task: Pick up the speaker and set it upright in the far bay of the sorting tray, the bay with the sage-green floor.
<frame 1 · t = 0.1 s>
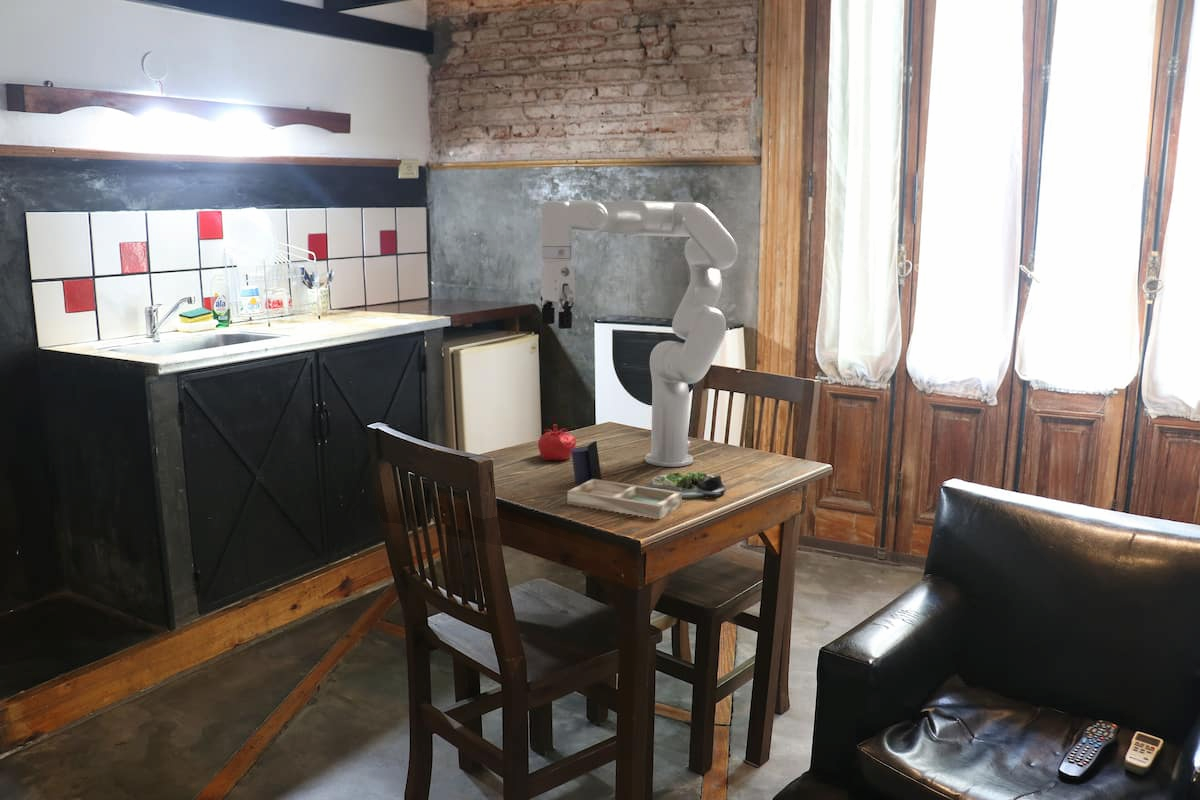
hand: (556, 326, 238), 37 cm above the table, tool pointing down, fingers open, 9 cm apart
avocado toast plate: (690, 491, 235), on the table
pomegranate: (556, 459, 262), on the table
speaker: (585, 484, 239), on the table
sorting tray: (624, 504, 222), on the table
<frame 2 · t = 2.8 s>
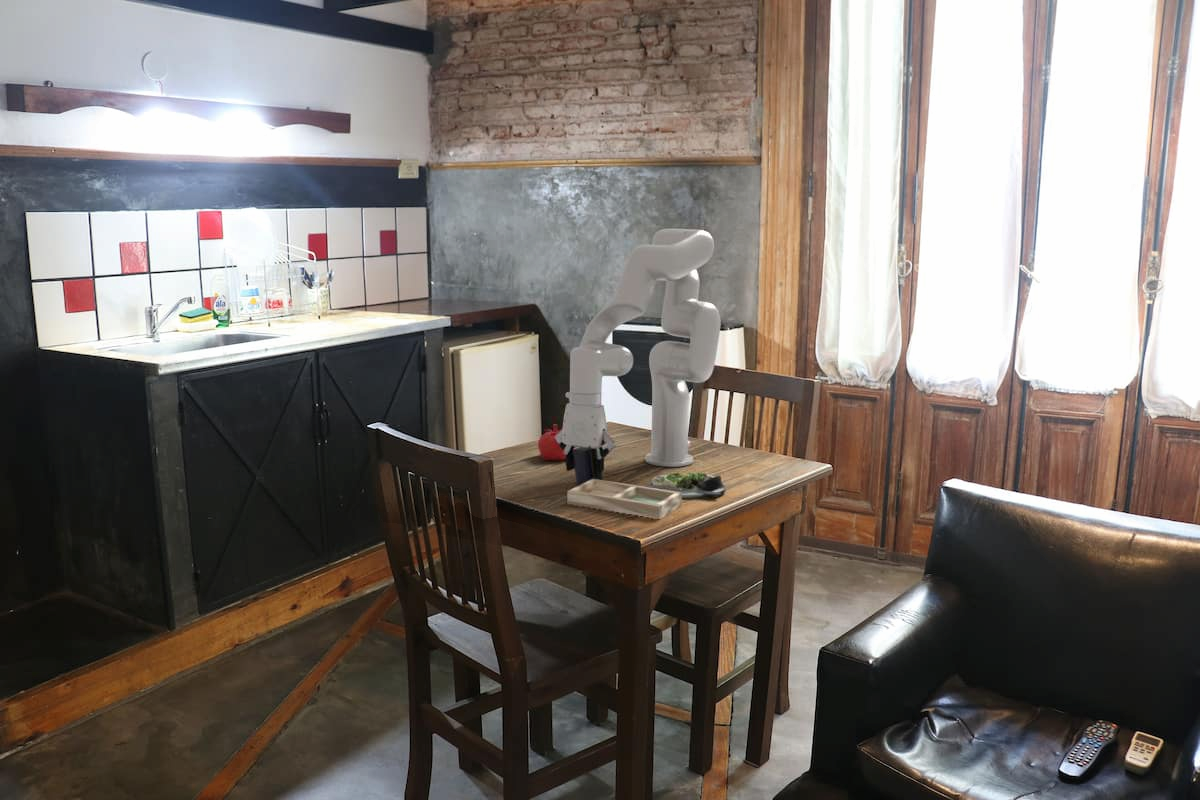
hand: (584, 471, 238), 3 cm above the table, tool pointing down, fingers open, 7 cm apart
speaker: (586, 484, 239), on the table, touching gripper
everything else where it was.
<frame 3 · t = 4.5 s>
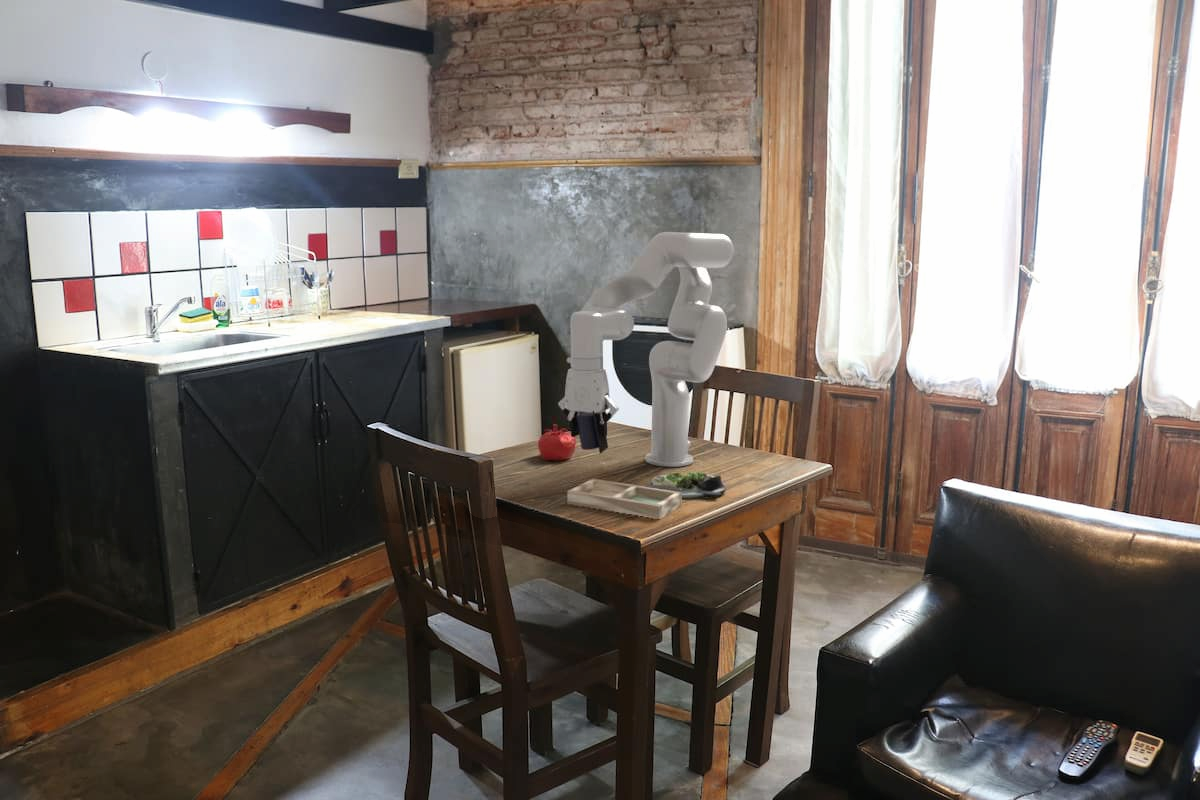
hand: (588, 436, 237), 11 cm above the table, tool pointing down, fingers closed on speaker, 6 cm apart
speaker: (591, 449, 238), point 8 cm above the table, touching gripper
everything else where it was.
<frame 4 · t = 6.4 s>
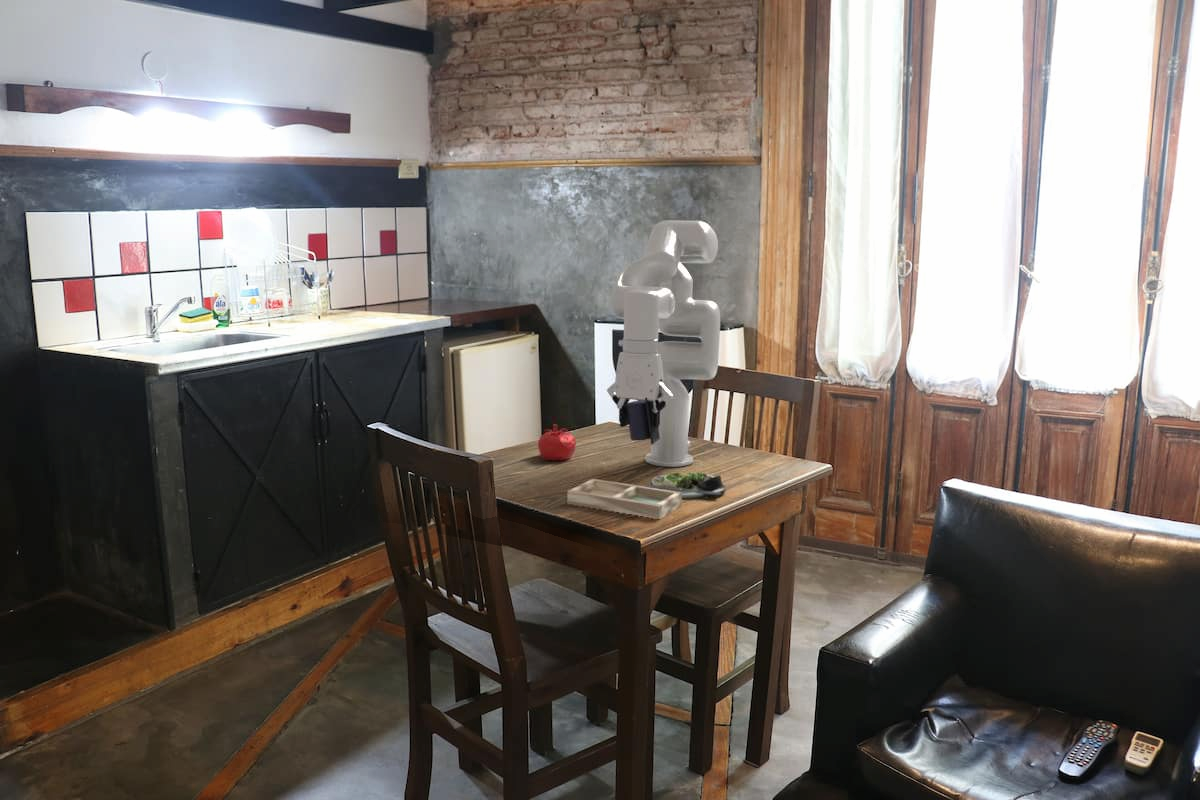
hand: (639, 427, 218), 18 cm above the table, tool pointing down, fingers closed on speaker, 6 cm apart
speaker: (641, 440, 219), point 15 cm above the table, touching gripper
everything else where it was.
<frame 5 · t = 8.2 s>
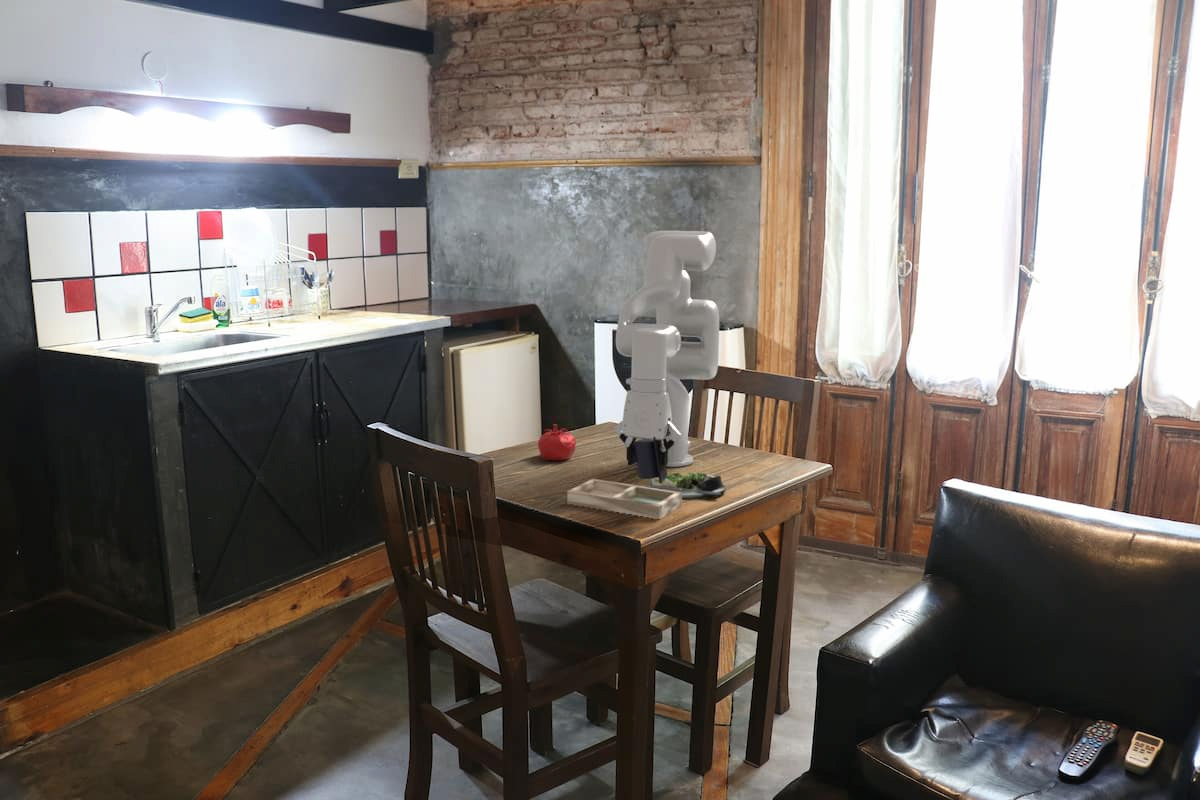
hand: (646, 465, 217), 10 cm above the table, tool pointing down, fingers closed on speaker, 6 cm apart
speaker: (649, 479, 218), point 7 cm above the table, touching gripper
everything else where it was.
when the fingers open (5 cm above the table, at t = 9.6 s): speaker drops 1 cm, resting on sorting tray.
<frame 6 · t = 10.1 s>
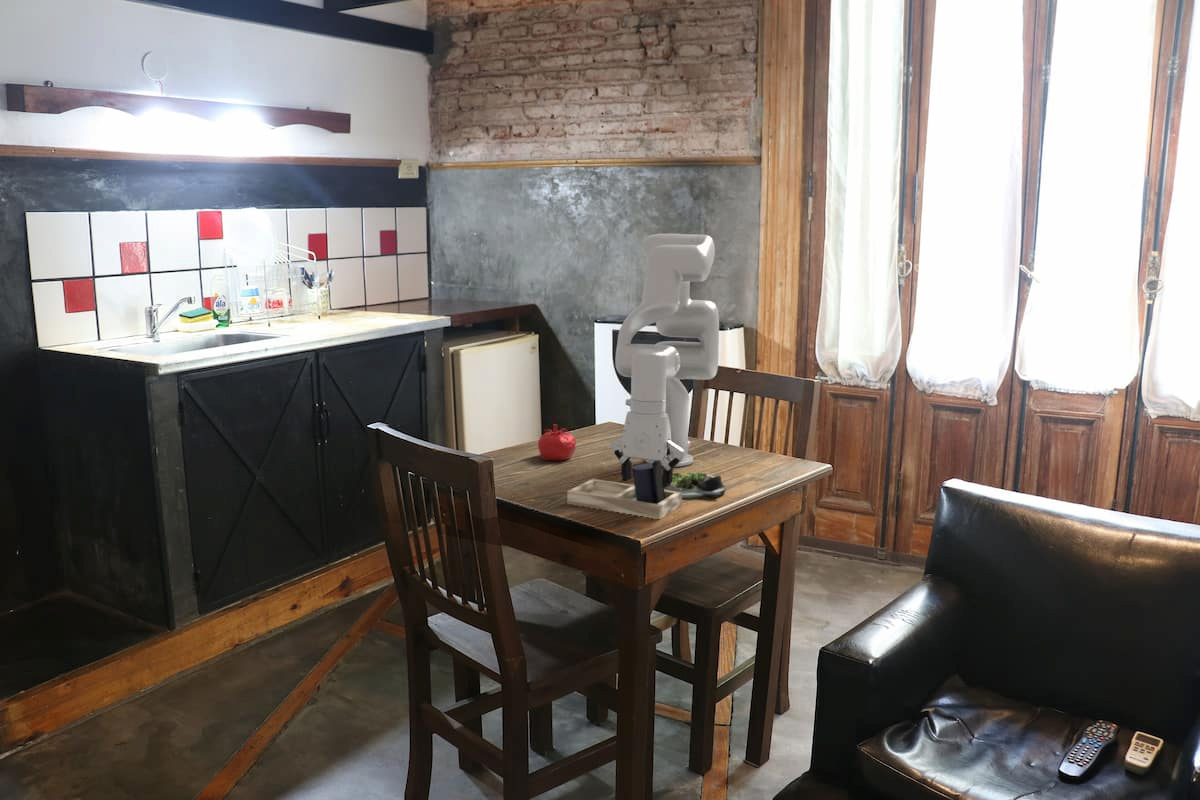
hand: (646, 483, 218), 6 cm above the table, tool pointing down, fingers open, 9 cm apart
speaker: (648, 504, 219), point 1 cm above the table, touching sorting tray
everything else where it was.
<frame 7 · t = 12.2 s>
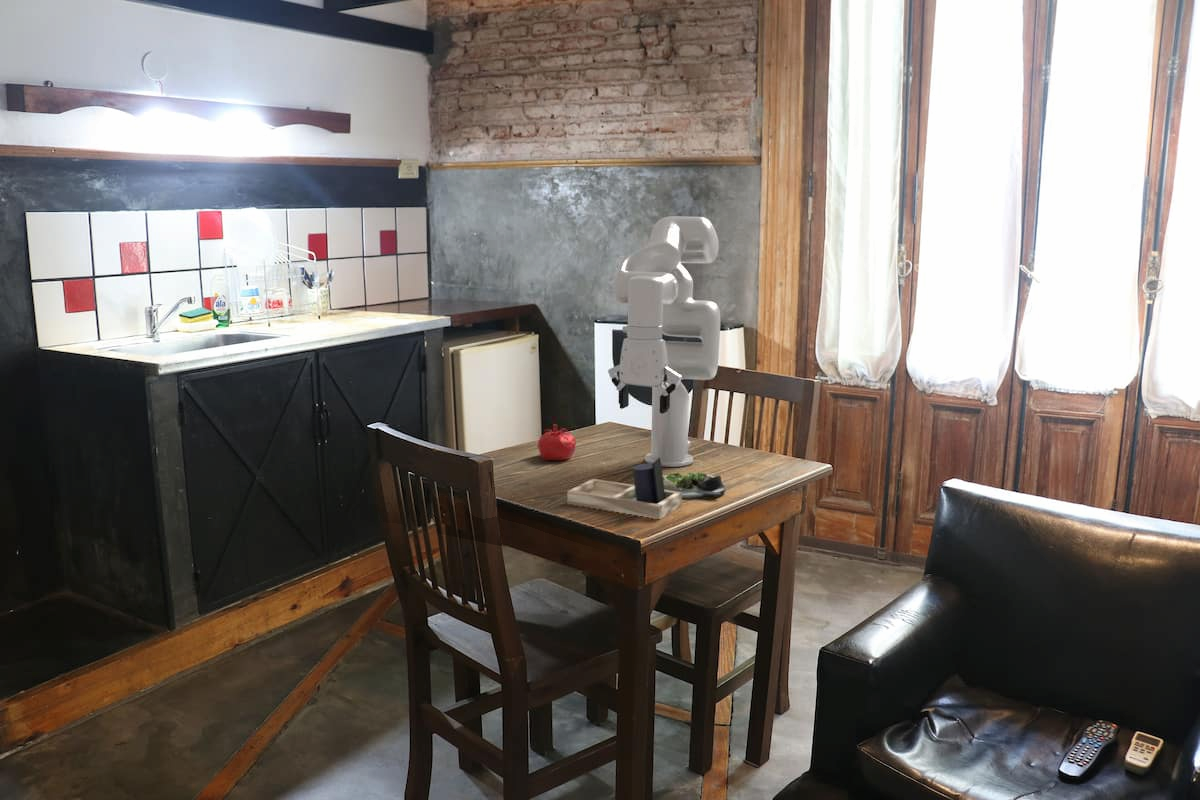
hand: (643, 409, 219), 21 cm above the table, tool pointing down, fingers open, 9 cm apart
nothing on the table moved.
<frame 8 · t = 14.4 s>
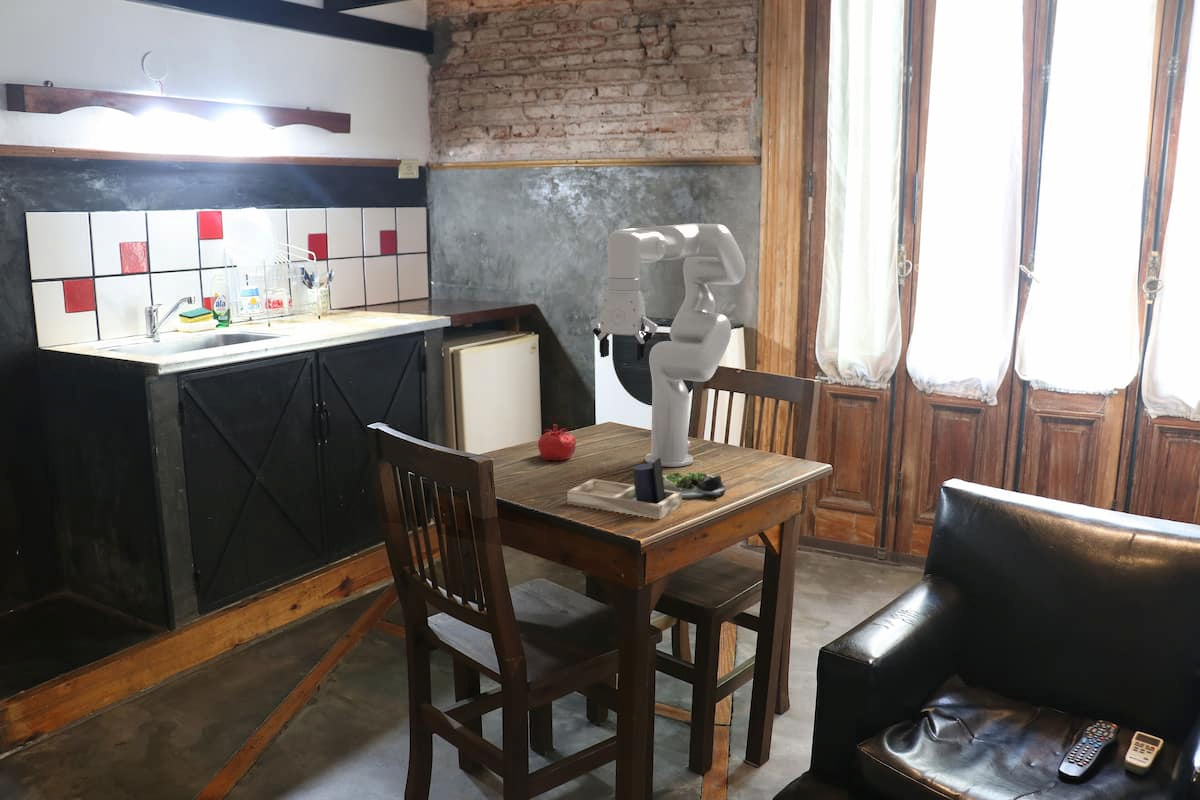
hand: (622, 358, 234), 30 cm above the table, tool pointing down, fingers open, 9 cm apart
nothing on the table moved.
at the end: speaker 0.5 cm from the target spot on the sorting tray, point 0.8 cm above the sorting tray's base; speaker tilted 0°; the gripper is holding nothing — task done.
